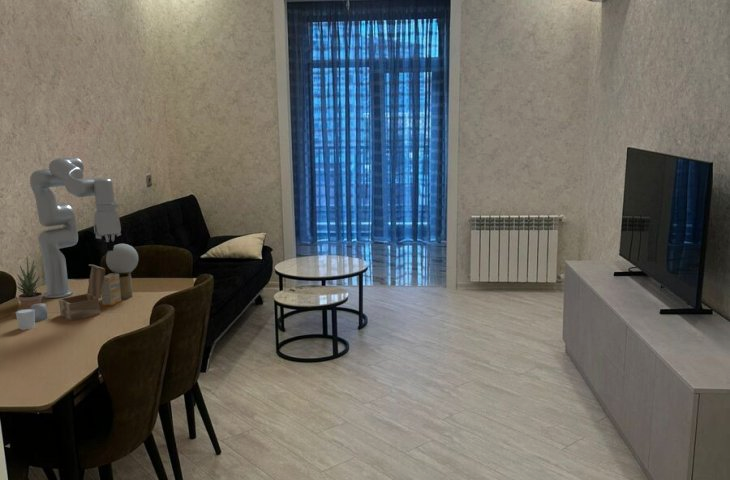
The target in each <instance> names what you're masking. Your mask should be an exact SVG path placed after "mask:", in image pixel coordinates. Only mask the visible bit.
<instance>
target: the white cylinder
mask: <svg viewBox="0 0 730 480" xmlns="http://www.w3.org/2000/svg"><path fill="white" fill-rule="evenodd" d="M15 316H16V320H17V325H18V329H19V330H20V329H21V331H27V330H26V329H28V330H32V329H34V328H35V327H36V321H35V310H34V309H23V308H22V309H20V310H17V311H15ZM31 328H32V329H31Z"/></svg>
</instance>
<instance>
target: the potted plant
mask: <svg viewBox="0 0 730 480" xmlns="http://www.w3.org/2000/svg"><path fill="white" fill-rule="evenodd" d="M35 267H36V264H35V259H33V262H32V264H31V268H30V269H29V259H28V256H26V272H25V270H24V269H23V267H22V266H21V264H19V269H20V272H21V274H22V277H23V278H24V279H23V278H22V277H21V276H20V275H19V274H18V273H17V274H16V275H17V277H18V279H19V281H20V283H19V282H18V283H17V284H18V285H16V288H18V291H19V292H21V294H19V295H18V300H19V302H20V304H21V306H22V310H23V309H31V306H32V305H34V304H39V303H42V298H44V293H43V292H39V291H38V290H36V289H37V288H38V287H37V286H36V285H37V284H38V281H39V279H40V276H38V277H37V279H36V280H35V281H34V279H35V276H36V274H37V273H36V272H35ZM29 270H30V271H29ZM19 286H20V287H19Z"/></svg>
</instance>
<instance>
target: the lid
mask: <svg viewBox="0 0 730 480" xmlns="http://www.w3.org/2000/svg"><path fill="white" fill-rule="evenodd" d="M88 267H91V269H90V275H89V280H88V286H87V292H86V294H89V295H92V296H94V297H97V298H99V300H100V299H101V300H102V288H103V282H104V276H105V275H106V268H104V267H101V266H98V265H95V264H90V263H89V264H88Z"/></svg>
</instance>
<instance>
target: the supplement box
mask: <svg viewBox="0 0 730 480" xmlns="http://www.w3.org/2000/svg"><path fill="white" fill-rule="evenodd" d="M120 302H122V300H121V291H120V280H119V274H118V273H115V272H113V273H108V274H105V276H104V282H103V288H102V294H101V303H102V306H104V307H105V306H106V307H110V306H111V307H112V306H114V305H116V304H118V303H120Z"/></svg>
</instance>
